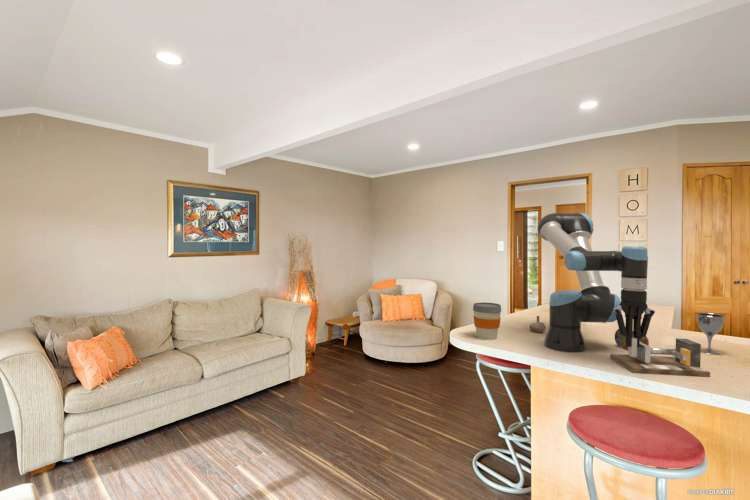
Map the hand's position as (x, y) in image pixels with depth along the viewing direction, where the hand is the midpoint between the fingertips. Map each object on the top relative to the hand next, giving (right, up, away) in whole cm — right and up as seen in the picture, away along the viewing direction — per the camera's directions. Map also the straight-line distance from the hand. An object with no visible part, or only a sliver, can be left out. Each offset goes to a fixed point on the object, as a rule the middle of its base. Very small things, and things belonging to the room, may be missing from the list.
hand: (632, 355), depth 131 cm
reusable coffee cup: (-40, -3, +39) cm, 56 cm away
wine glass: (+43, -3, +17) cm, 46 cm away
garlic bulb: (-12, -3, +50) cm, 51 cm away
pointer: (+13, -1, -7) cm, 15 cm away
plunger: (+8, -1, -2) cm, 8 cm away
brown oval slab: (+12, -3, +19) cm, 23 cm away
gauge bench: (+8, -4, -1) cm, 9 cm away
